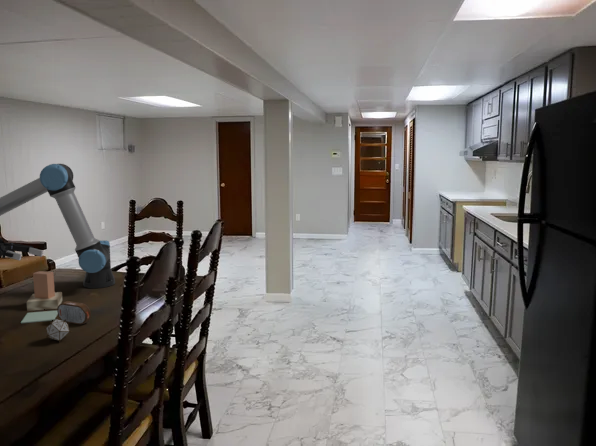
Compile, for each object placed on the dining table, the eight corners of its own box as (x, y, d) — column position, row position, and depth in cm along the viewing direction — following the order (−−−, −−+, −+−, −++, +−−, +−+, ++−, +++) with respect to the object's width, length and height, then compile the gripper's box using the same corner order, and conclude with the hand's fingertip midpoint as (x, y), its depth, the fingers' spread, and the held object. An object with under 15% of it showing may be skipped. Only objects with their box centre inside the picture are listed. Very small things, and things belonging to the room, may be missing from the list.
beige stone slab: (62, 300, 219) (61, 291, 218) (58, 308, 208) (57, 299, 207) (33, 302, 215) (32, 294, 215) (27, 310, 204) (26, 301, 203)
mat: (59, 311, 204) (59, 310, 204) (54, 320, 193) (54, 319, 193) (27, 313, 200) (27, 312, 200) (20, 323, 189) (20, 322, 189)
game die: (65, 348, 174) (81, 327, 174) (45, 349, 167) (61, 326, 166) (54, 332, 178) (69, 311, 178) (34, 331, 171) (50, 310, 170)
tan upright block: (34, 297, 210) (32, 273, 208) (41, 294, 213) (39, 271, 212) (48, 298, 208) (46, 274, 206) (54, 296, 212) (53, 272, 210)
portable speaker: (92, 323, 190) (91, 303, 188) (86, 326, 187) (85, 305, 185) (62, 319, 194) (61, 299, 193) (56, 321, 192) (55, 301, 190)
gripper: (9, 249, 227) (48, 260, 224) (-35, 255, 203) (9, 267, 200) (12, 233, 227) (51, 244, 224) (-32, 238, 202) (12, 250, 199)
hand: (31, 255), depth 212 cm, fingers open, 13 cm apart
